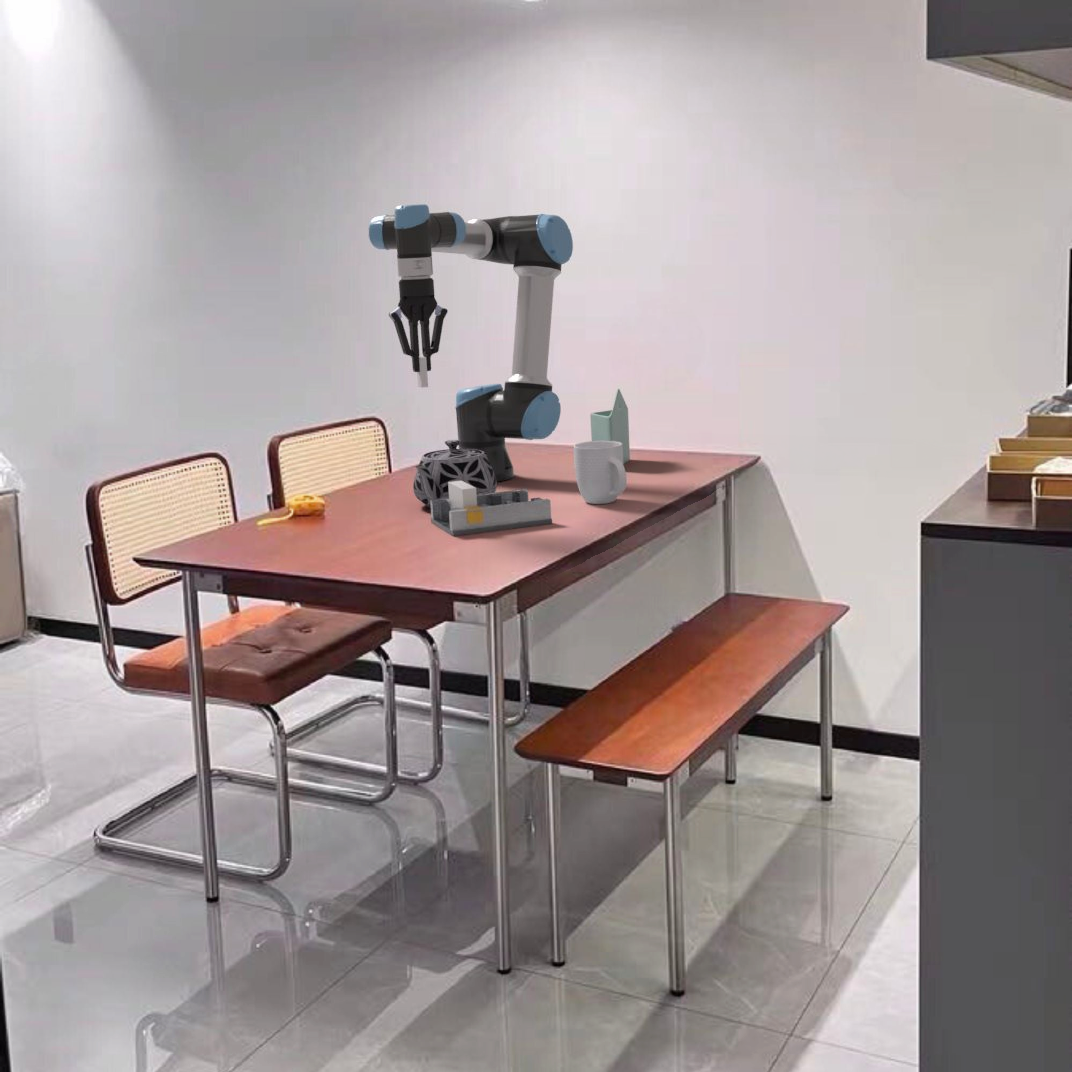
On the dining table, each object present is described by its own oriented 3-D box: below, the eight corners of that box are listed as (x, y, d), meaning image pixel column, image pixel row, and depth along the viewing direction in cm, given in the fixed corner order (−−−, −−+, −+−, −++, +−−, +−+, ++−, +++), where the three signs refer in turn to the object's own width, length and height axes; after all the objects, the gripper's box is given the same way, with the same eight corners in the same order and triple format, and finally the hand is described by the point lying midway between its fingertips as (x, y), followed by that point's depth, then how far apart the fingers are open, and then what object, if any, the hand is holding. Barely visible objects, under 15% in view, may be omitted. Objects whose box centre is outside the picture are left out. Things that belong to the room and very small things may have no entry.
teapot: (382, 517, 328) (377, 450, 325) (451, 491, 354) (448, 429, 351) (456, 521, 319) (452, 453, 316) (521, 494, 346) (518, 431, 343)
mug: (644, 503, 328) (643, 445, 326) (605, 511, 323) (602, 452, 320) (605, 494, 341) (603, 438, 338) (566, 501, 335) (563, 444, 332)
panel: (450, 518, 318) (448, 482, 316) (463, 516, 319) (461, 480, 317) (464, 527, 309) (462, 489, 307) (478, 525, 310) (476, 487, 308)
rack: (431, 522, 320) (429, 498, 319) (526, 510, 327) (524, 487, 326) (453, 536, 305) (451, 511, 304) (552, 523, 312) (551, 499, 311)
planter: (601, 459, 388) (598, 384, 384) (630, 459, 385) (627, 384, 381) (583, 470, 373) (580, 393, 369) (613, 471, 370) (610, 392, 366)
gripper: (391, 280, 313) (399, 391, 318) (449, 276, 317) (456, 385, 322) (382, 279, 320) (389, 387, 325) (439, 275, 324) (446, 382, 329)
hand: (423, 386), depth 324 cm, fingers closed
